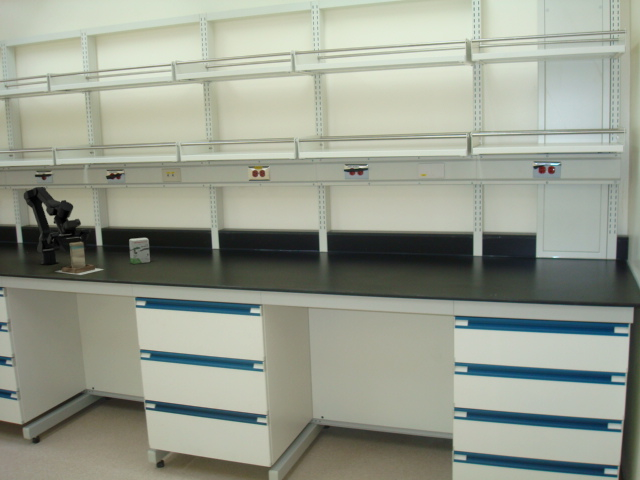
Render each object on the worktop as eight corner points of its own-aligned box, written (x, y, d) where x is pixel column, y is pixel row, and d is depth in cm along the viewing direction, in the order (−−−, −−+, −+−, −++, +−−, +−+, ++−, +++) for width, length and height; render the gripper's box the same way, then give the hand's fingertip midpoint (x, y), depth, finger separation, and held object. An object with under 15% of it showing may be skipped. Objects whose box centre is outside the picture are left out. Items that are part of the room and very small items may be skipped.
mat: (54, 272, 270) (54, 271, 269) (78, 267, 281) (78, 266, 281) (81, 275, 261) (81, 274, 261) (104, 269, 272) (104, 269, 272)
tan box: (71, 270, 271) (69, 243, 268) (83, 269, 274) (80, 241, 272) (74, 272, 267) (71, 244, 265) (85, 270, 270) (83, 242, 268)
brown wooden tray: (62, 271, 268) (61, 267, 268) (80, 267, 277) (80, 263, 277) (76, 273, 264) (76, 269, 263) (95, 269, 272) (94, 265, 272)
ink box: (133, 264, 284) (131, 240, 283) (130, 262, 288) (128, 239, 287) (150, 262, 289) (149, 238, 287) (147, 260, 293) (145, 237, 291)
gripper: (47, 215, 263) (60, 242, 258) (87, 211, 277) (100, 236, 271) (41, 231, 270) (54, 257, 264) (81, 226, 284) (93, 251, 278)
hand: (76, 250), depth 269 cm, fingers open, 9 cm apart
